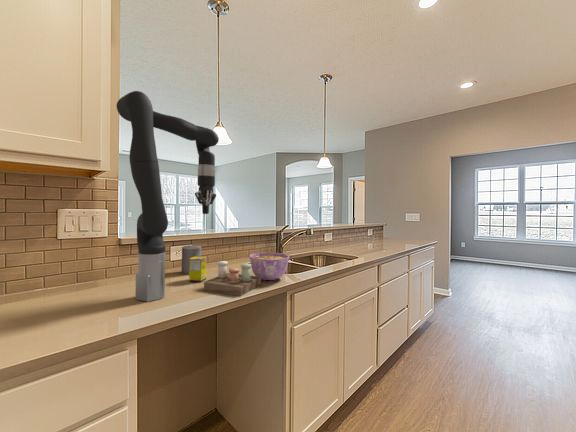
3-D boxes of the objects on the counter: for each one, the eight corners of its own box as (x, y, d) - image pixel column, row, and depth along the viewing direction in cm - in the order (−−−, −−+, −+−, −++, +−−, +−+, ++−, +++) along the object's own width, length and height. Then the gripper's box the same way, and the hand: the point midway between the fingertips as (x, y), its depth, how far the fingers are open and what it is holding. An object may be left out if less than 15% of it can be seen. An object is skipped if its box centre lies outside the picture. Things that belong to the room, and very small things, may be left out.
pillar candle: (180, 270, 147) (181, 243, 147) (199, 269, 151) (200, 242, 151) (182, 275, 139) (182, 246, 138) (202, 273, 143) (202, 245, 142)
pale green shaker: (247, 282, 116) (248, 266, 116) (238, 281, 117) (239, 265, 117) (252, 280, 120) (253, 264, 120) (243, 278, 122) (244, 263, 121)
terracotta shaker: (235, 286, 118) (235, 270, 118) (226, 285, 120) (227, 269, 119) (240, 284, 122) (241, 268, 122) (232, 282, 124) (232, 267, 123)
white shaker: (223, 279, 120) (224, 263, 120) (215, 278, 122) (215, 262, 121) (229, 276, 124) (229, 261, 124) (221, 275, 126) (221, 260, 125)
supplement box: (206, 279, 133) (206, 256, 132) (201, 282, 127) (201, 259, 126) (194, 278, 133) (194, 256, 133) (188, 281, 127) (189, 258, 127)
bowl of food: (270, 287, 123) (271, 261, 122) (240, 278, 135) (240, 255, 135) (296, 278, 139) (297, 255, 138) (267, 271, 151) (267, 251, 150)
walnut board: (241, 296, 109) (241, 287, 109) (203, 290, 116) (204, 281, 115) (261, 284, 126) (261, 277, 126) (227, 279, 132) (227, 272, 132)
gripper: (203, 173, 116) (203, 214, 117) (221, 177, 128) (221, 213, 129) (189, 173, 119) (188, 213, 119) (208, 177, 131) (207, 213, 132)
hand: (205, 213), depth 124 cm, fingers closed
